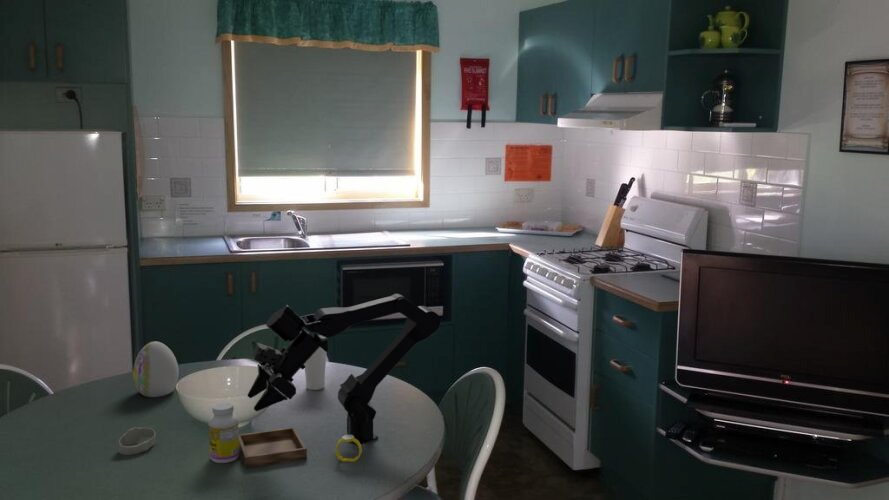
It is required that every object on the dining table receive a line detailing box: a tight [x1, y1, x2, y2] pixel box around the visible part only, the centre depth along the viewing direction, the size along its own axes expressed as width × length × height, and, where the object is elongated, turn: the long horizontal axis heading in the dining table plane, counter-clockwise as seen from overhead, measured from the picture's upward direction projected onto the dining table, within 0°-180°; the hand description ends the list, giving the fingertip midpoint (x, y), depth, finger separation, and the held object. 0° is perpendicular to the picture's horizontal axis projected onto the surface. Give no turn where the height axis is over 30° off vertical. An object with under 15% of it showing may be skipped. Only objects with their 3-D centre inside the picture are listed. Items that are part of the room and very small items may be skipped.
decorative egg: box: [132, 341, 180, 398], centre depth 235 cm, size 12×12×15 cm
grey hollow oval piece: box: [118, 426, 156, 456], centre depth 197 cm, size 9×6×5 cm
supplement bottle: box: [208, 401, 240, 464], centre depth 191 cm, size 7×7×13 cm
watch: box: [335, 434, 363, 463], centre depth 191 cm, size 6×3×6 cm, turn 88°
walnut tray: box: [239, 426, 308, 469], centre depth 196 cm, size 14×14×2 cm
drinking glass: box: [304, 334, 327, 391], centre depth 239 cm, size 7×7×15 cm
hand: (251, 403), depth 193 cm, fingers open, 9 cm apart
